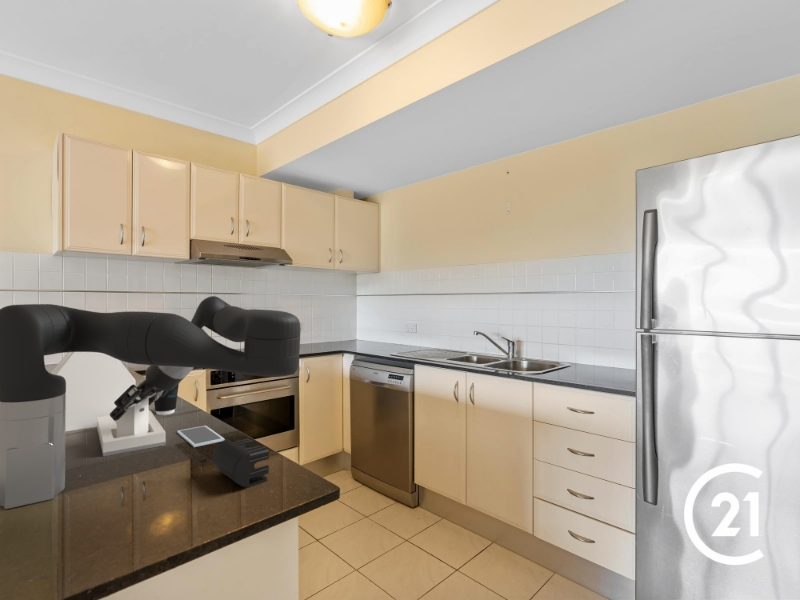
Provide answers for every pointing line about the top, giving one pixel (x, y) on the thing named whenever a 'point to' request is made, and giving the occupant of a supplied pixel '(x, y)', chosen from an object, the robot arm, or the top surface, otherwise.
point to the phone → (200, 436)
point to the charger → (134, 420)
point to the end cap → (241, 462)
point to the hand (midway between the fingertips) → (127, 412)
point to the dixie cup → (167, 402)
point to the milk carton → (91, 386)
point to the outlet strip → (128, 443)
